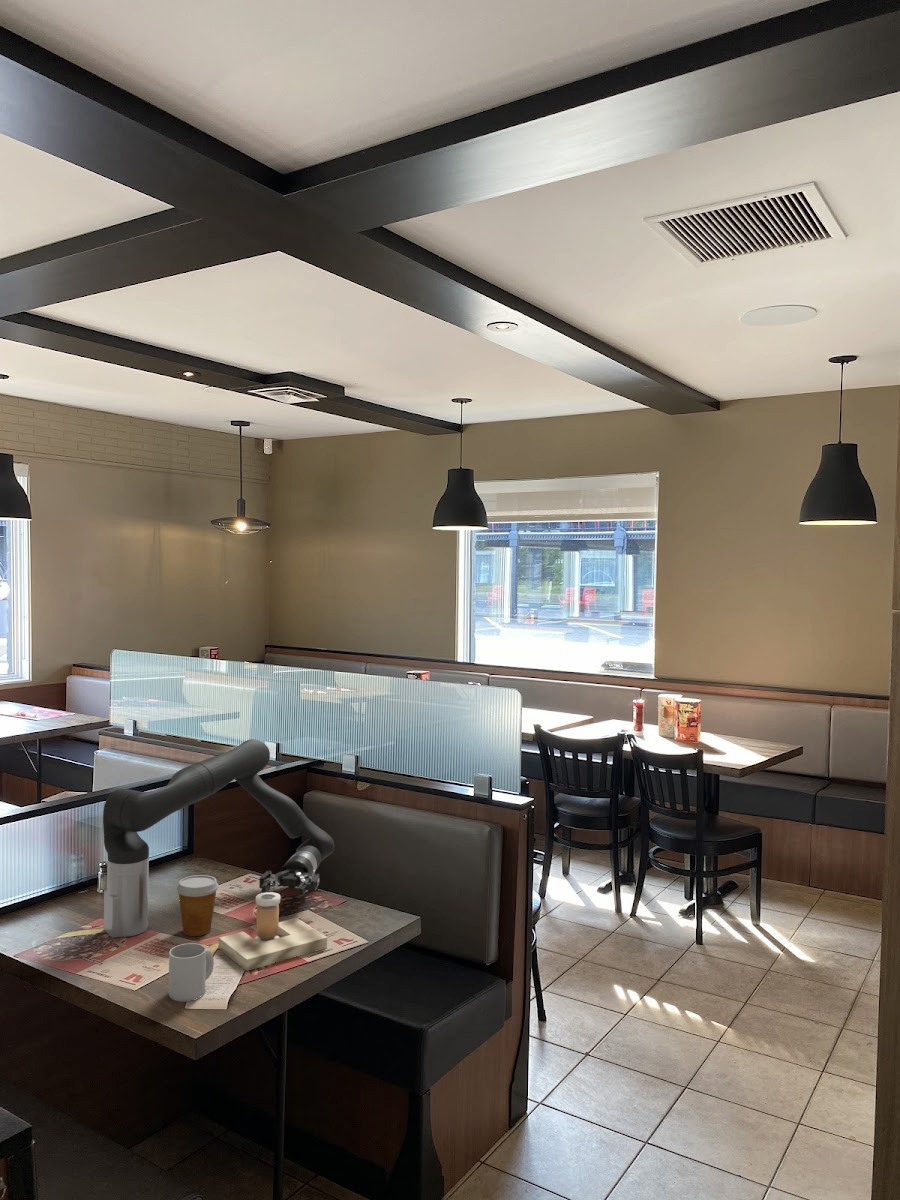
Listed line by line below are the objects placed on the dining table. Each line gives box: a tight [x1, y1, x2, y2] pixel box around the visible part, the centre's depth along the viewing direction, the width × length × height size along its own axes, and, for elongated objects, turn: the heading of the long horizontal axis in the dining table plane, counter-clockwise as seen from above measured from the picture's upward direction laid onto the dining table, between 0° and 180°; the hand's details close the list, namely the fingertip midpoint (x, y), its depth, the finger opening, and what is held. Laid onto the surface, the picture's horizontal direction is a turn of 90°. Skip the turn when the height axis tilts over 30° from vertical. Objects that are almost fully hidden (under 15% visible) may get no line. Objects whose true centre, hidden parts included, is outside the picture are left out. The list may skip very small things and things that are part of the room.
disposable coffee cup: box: [176, 874, 219, 937], centre depth 215 cm, size 10×10×12 cm
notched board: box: [218, 917, 328, 972], centre depth 206 cm, size 20×14×2 cm
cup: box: [168, 942, 215, 1003], centre depth 185 cm, size 7×10×9 cm
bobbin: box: [254, 891, 281, 943], centre depth 209 cm, size 6×6×11 cm
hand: (281, 891), depth 219 cm, fingers open, 8 cm apart
